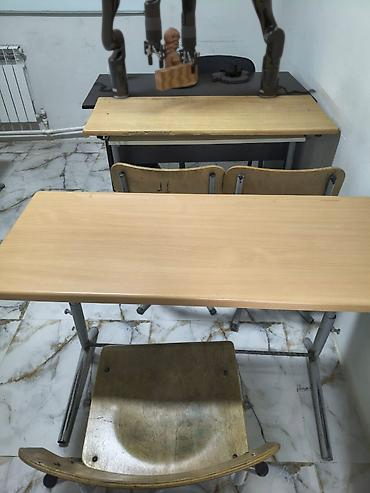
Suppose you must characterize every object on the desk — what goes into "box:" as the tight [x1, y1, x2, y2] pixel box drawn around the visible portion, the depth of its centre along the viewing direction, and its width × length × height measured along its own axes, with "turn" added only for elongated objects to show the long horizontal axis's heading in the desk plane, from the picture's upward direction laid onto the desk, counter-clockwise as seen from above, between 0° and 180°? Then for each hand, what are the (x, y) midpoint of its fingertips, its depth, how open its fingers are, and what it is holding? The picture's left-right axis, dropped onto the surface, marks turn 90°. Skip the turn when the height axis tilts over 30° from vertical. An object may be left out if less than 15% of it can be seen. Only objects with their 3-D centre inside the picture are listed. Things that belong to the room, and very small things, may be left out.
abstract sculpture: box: [211, 60, 250, 85], centre depth 224 cm, size 25×9×20 cm
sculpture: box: [163, 27, 198, 88], centre depth 214 cm, size 27×24×30 cm
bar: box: [154, 61, 199, 92], centre depth 183 cm, size 24×5×8 cm, turn 131°
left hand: (156, 66), depth 173 cm, fingers open, 8 cm apart
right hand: (189, 72), depth 187 cm, fingers closed on bar, 5 cm apart
